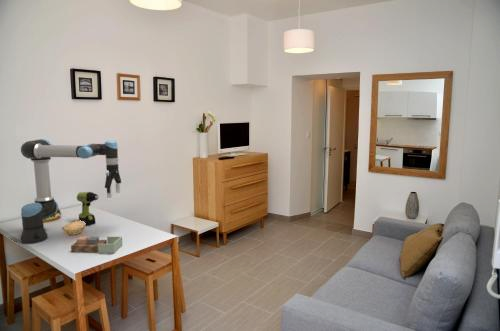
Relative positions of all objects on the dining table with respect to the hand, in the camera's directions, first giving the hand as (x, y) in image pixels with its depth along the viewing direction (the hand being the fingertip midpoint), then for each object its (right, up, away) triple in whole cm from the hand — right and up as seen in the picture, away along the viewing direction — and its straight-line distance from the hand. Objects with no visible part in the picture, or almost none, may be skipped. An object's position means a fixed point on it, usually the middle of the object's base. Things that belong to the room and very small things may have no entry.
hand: (113, 195), depth 242 cm
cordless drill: (-26, -24, +24) cm, 43 cm away
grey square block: (-5, -28, -21) cm, 35 cm away
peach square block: (-11, -28, -21) cm, 36 cm away
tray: (+6, -32, -21) cm, 39 cm away
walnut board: (-7, -32, -21) cm, 38 cm away
